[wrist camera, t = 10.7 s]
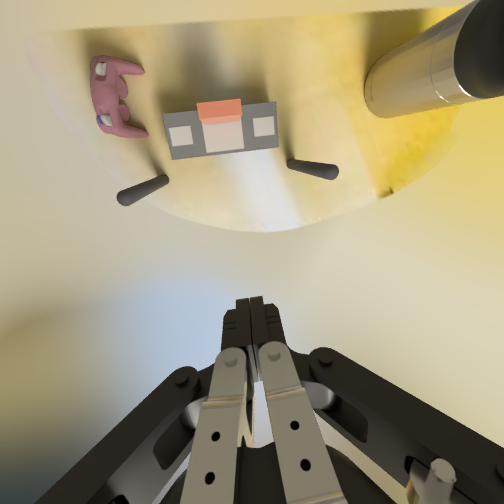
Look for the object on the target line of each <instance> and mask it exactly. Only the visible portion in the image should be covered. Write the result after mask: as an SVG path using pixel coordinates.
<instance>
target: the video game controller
mask: <svg viewBox="0 0 504 504" xmlns="http://www.w3.org/2000/svg"><path fill="white" fill-rule="evenodd" d="M90 67H91V79H90V83H91V95H92V101H93V105H94V109H95V112H96V114H97V118H96V119H97V123H98V125H99V127H100V129H101V130H102V131H103V132H105V133H108V134H113V135H116V136H120V137H125V138H145V137H147V136H148V133H147V132H146V131H145V130H142V129H139V128H135V127H131V126H129V125H126V124H124V123H125V122H126V121H128V120H129V119H130V112H129V109H128V107H127V106H126V105H124V104H119V97H126V96H127V94H128V87H127V85H126V83H125V82H124V81H123V80H122V79H121V78H120V76H119V75H121V74H131V75H141V74H144V73H145V71H144V69H143V68H142V67H141V66H139V65H138V64H135V63H132V62H129V61H126V60H123V59H120V58H115V57H109V56H103V55H102V56H95V57H93V58H92V60H91V64H90Z"/></svg>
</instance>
